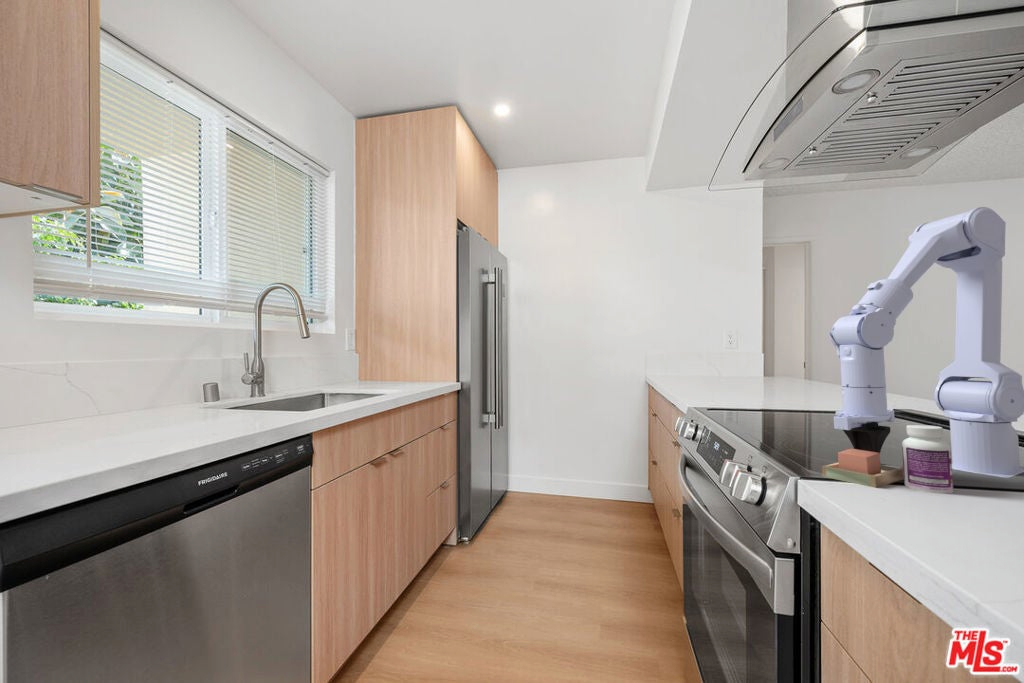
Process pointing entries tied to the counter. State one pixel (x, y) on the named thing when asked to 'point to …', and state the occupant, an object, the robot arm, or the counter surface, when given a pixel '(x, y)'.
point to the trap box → (864, 475)
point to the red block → (860, 461)
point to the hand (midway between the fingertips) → (868, 469)
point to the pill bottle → (927, 460)
